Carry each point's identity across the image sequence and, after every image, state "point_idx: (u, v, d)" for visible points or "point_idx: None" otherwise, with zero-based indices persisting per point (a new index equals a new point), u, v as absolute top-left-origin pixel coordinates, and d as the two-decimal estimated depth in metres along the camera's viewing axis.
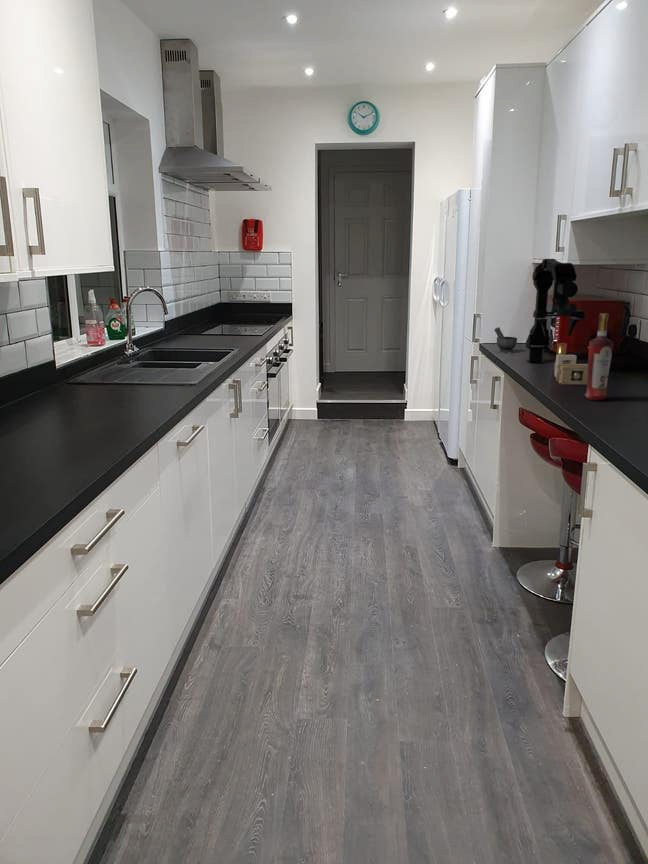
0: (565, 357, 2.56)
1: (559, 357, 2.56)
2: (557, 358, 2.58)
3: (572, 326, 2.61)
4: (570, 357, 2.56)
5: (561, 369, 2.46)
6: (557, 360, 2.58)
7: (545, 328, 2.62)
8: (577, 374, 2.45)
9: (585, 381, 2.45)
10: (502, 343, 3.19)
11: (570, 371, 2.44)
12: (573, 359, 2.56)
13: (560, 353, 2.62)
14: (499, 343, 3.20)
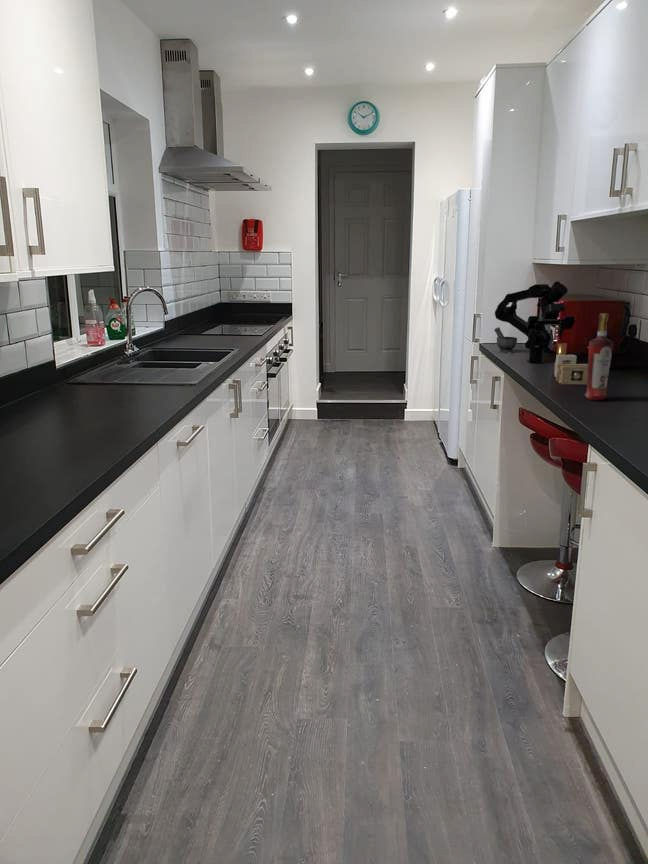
0: (565, 357, 2.56)
1: (559, 357, 2.56)
2: (557, 358, 2.58)
3: (561, 328, 2.75)
4: (570, 357, 2.56)
5: (561, 369, 2.46)
6: (557, 360, 2.58)
7: (544, 330, 2.75)
8: (577, 374, 2.45)
9: (585, 381, 2.45)
10: (502, 343, 3.19)
11: (570, 371, 2.44)
12: (573, 359, 2.56)
13: (560, 353, 2.62)
14: (499, 343, 3.20)
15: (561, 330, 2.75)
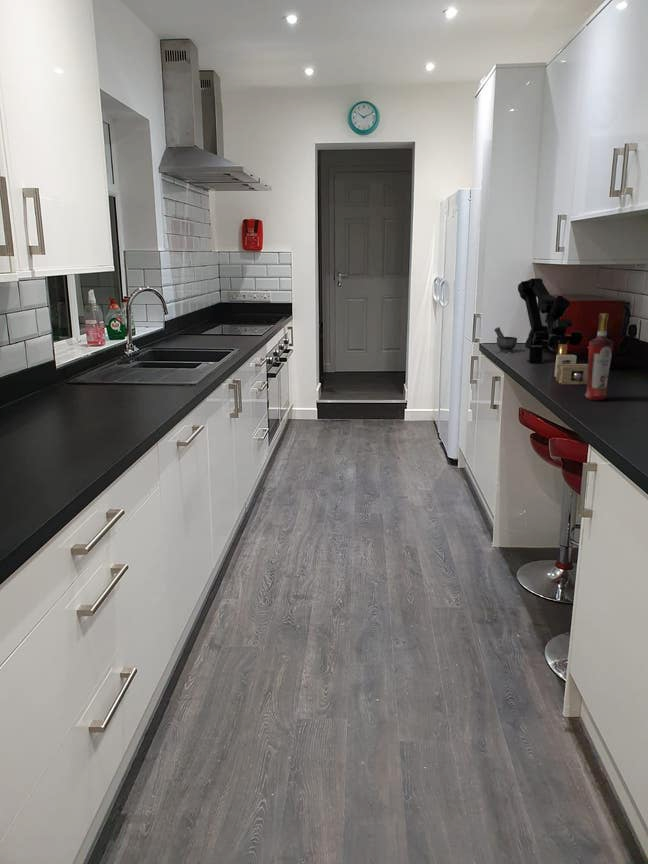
0: (565, 357, 2.56)
1: (559, 357, 2.56)
2: (557, 358, 2.58)
3: None
4: (570, 357, 2.56)
5: (561, 369, 2.46)
6: (557, 360, 2.58)
7: None
8: (578, 375, 2.44)
9: (585, 381, 2.45)
10: (502, 343, 3.19)
11: (570, 371, 2.44)
12: (573, 359, 2.56)
13: (561, 353, 2.61)
14: (499, 343, 3.20)
15: None
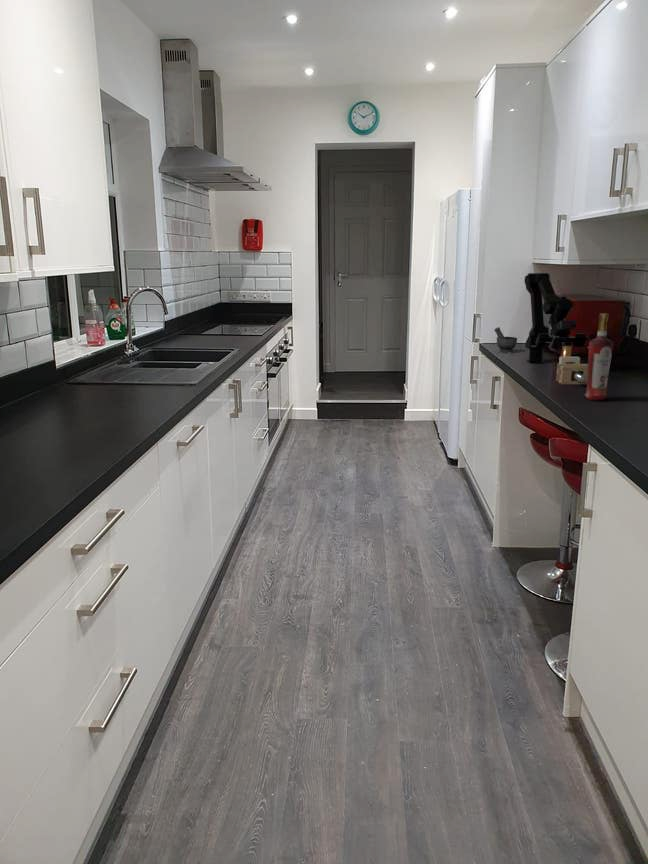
0: (568, 359, 2.52)
1: (562, 358, 2.52)
2: (560, 360, 2.54)
3: None
4: (573, 359, 2.52)
5: (561, 369, 2.46)
6: (560, 362, 2.54)
7: None
8: (583, 377, 2.39)
9: (585, 381, 2.45)
10: (502, 343, 3.19)
11: (570, 371, 2.44)
12: (577, 361, 2.52)
13: (565, 355, 2.56)
14: (499, 343, 3.20)
15: None
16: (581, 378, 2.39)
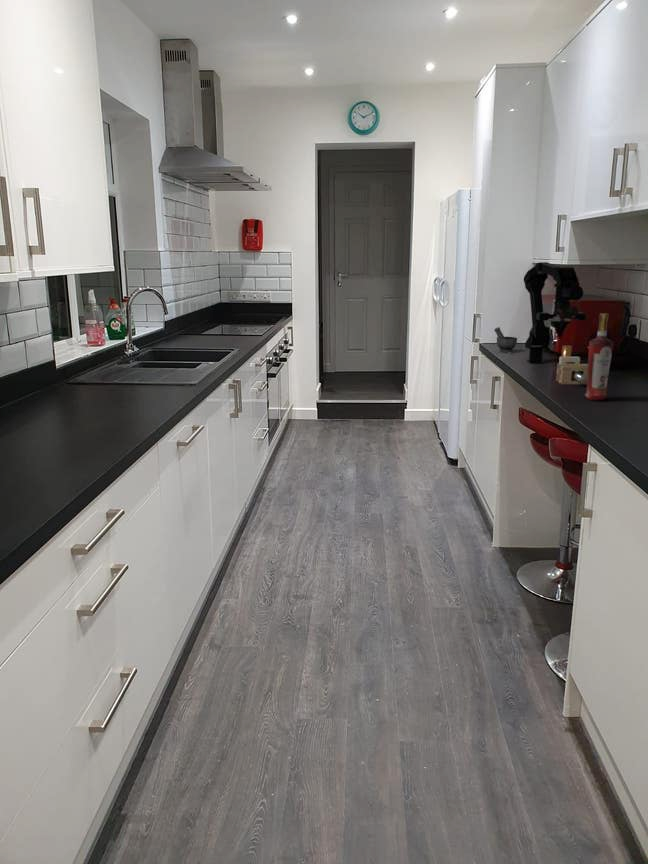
0: (568, 359, 2.52)
1: (562, 358, 2.52)
2: (560, 360, 2.54)
3: (563, 328, 2.71)
4: (574, 359, 2.52)
5: (561, 369, 2.46)
6: (560, 362, 2.54)
7: (558, 330, 2.71)
8: (583, 377, 2.39)
9: (585, 381, 2.45)
10: (502, 343, 3.19)
11: (570, 371, 2.44)
12: (577, 361, 2.52)
13: (565, 355, 2.56)
14: (499, 343, 3.20)
15: (562, 330, 2.71)
16: (581, 378, 2.39)
